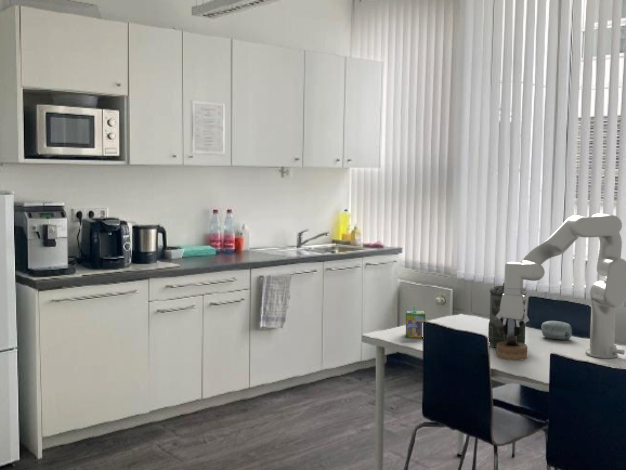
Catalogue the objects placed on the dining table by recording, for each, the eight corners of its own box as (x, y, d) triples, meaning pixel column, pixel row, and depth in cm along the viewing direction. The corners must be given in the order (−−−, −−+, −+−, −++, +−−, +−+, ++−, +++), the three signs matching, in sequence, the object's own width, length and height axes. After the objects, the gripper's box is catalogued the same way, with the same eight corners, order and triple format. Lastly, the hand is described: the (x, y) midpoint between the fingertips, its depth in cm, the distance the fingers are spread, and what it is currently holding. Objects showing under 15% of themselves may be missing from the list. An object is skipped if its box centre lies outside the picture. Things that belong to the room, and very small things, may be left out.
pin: (517, 345, 296) (519, 312, 294) (514, 347, 292) (515, 314, 291) (508, 344, 298) (509, 311, 297) (504, 345, 295) (506, 312, 294)
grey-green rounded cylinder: (577, 331, 327) (569, 314, 324) (572, 344, 321) (564, 326, 318) (548, 334, 336) (541, 317, 333) (543, 346, 329) (536, 329, 326)
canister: (481, 343, 318) (482, 281, 316) (510, 340, 324) (512, 279, 321) (502, 351, 304) (503, 287, 301) (532, 348, 309) (534, 285, 307)
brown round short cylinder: (530, 355, 297) (531, 344, 296) (520, 361, 287) (520, 349, 287) (503, 351, 304) (504, 339, 304) (492, 357, 295) (492, 345, 294)
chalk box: (425, 338, 327) (425, 307, 325) (405, 337, 328) (405, 306, 327) (425, 334, 336) (425, 303, 334) (405, 333, 337) (406, 302, 336)
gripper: (536, 292, 291) (534, 336, 293) (498, 288, 301) (496, 330, 303) (529, 295, 285) (527, 339, 287) (490, 290, 295) (489, 333, 297)
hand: (511, 334), depth 295 cm, fingers closed on pin, 4 cm apart
